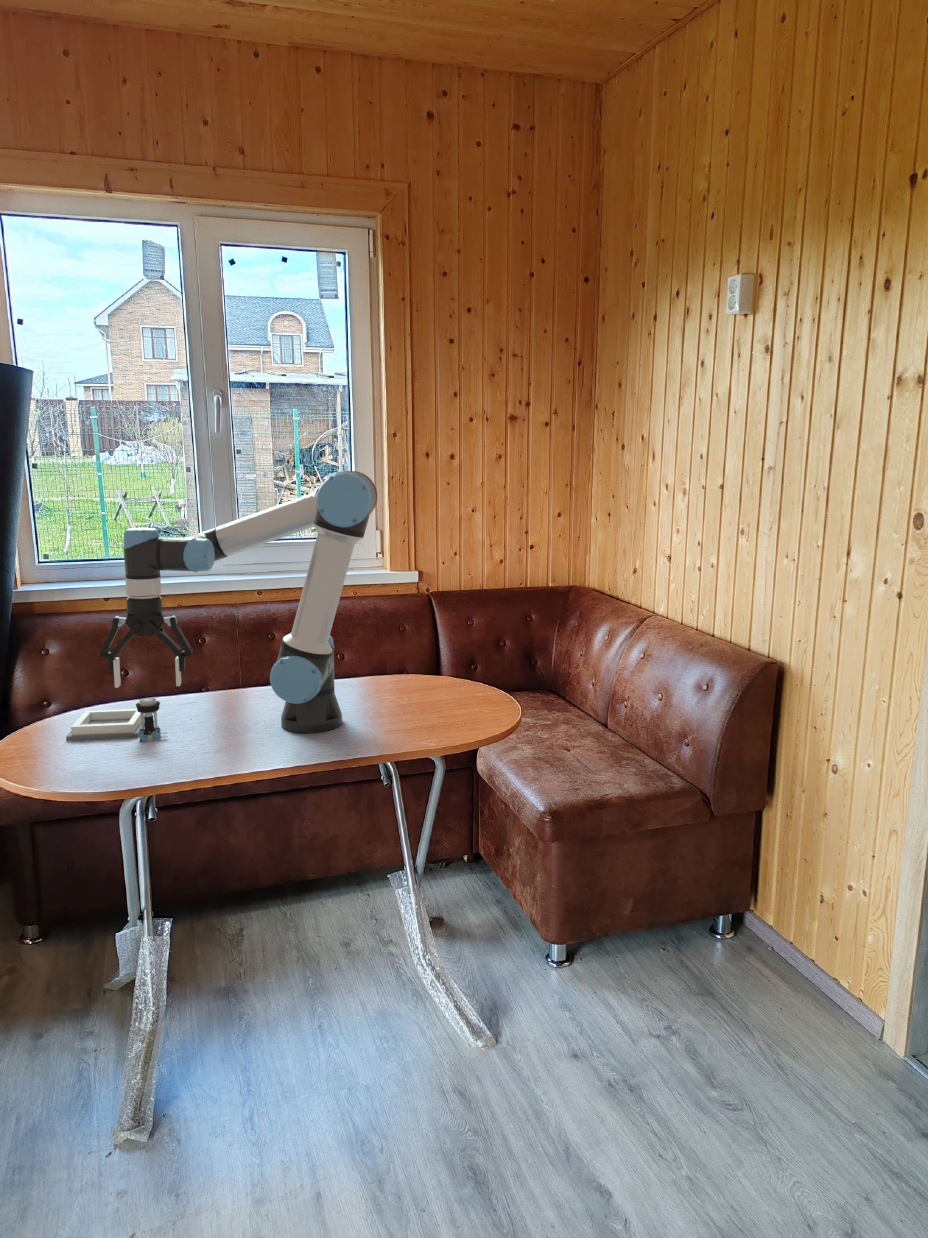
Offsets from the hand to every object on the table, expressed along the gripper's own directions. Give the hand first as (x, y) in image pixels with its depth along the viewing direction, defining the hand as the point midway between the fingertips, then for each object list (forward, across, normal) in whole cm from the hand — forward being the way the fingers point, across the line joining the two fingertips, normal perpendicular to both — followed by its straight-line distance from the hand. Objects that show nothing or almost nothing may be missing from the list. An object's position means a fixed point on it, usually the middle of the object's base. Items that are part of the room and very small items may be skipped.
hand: (148, 685), depth 198 cm
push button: (+14, 0, 0) cm, 14 cm away
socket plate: (+14, +12, -10) cm, 20 cm away
